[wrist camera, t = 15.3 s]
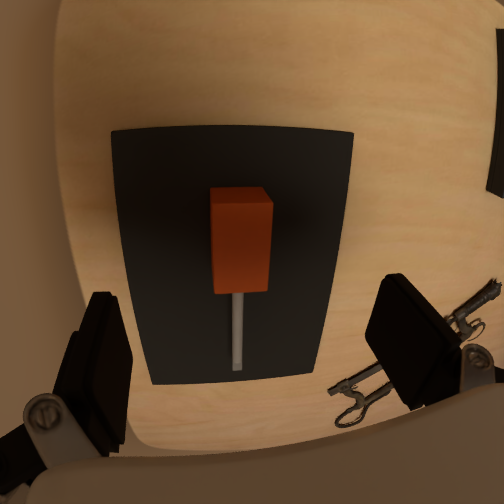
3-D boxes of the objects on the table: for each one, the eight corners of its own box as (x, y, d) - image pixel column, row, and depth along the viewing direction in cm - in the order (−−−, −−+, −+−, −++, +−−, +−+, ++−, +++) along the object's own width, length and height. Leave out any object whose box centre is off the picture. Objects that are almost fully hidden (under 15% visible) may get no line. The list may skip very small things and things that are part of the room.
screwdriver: (210, 187, 18) (212, 203, 15) (262, 186, 18) (273, 202, 15) (215, 356, 24) (218, 386, 21) (253, 354, 24) (260, 382, 21)
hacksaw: (497, 272, 26) (506, 279, 25) (493, 327, 31) (500, 334, 30) (310, 396, 29) (314, 408, 27) (339, 429, 34) (343, 438, 32)
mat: (112, 131, 15) (110, 131, 15) (351, 132, 18) (354, 133, 17) (152, 381, 24) (152, 384, 24) (311, 369, 27) (312, 372, 26)
